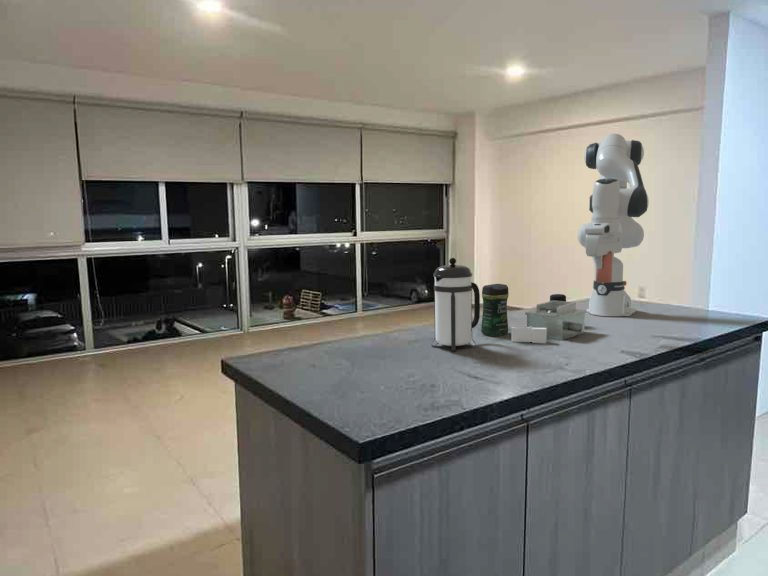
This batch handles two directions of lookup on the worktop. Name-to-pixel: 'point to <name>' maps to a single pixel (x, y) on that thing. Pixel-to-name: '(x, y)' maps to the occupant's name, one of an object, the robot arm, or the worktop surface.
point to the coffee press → (454, 305)
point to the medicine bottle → (558, 297)
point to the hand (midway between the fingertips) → (604, 267)
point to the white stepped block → (529, 334)
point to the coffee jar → (494, 310)
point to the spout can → (605, 269)
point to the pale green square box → (557, 319)
